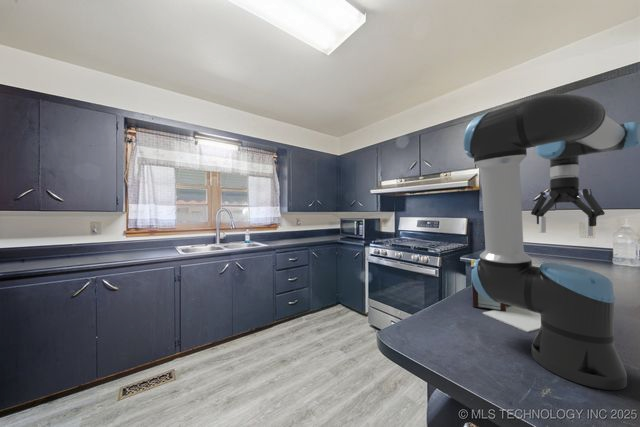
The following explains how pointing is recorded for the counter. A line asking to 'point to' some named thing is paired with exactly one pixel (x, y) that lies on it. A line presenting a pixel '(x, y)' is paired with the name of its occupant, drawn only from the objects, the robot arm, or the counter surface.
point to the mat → (517, 318)
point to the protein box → (482, 301)
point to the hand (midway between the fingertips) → (563, 234)
